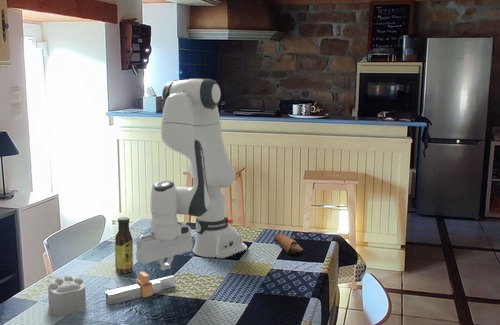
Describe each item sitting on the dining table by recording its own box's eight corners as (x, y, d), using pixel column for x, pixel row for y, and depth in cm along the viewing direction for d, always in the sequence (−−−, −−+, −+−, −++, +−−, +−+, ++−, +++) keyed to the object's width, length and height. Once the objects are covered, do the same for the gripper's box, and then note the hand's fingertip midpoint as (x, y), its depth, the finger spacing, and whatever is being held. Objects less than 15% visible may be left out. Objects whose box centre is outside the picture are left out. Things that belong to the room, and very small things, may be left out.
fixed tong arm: (172, 285, 186) (172, 275, 186) (174, 286, 185) (174, 276, 185) (105, 302, 172) (105, 291, 172) (107, 303, 171) (107, 292, 171)
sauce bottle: (128, 275, 194) (127, 222, 190) (112, 273, 195) (111, 220, 191) (136, 268, 200) (135, 216, 196) (120, 266, 201) (119, 215, 197)
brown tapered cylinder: (307, 253, 219) (300, 240, 217) (293, 263, 218) (286, 250, 216) (291, 239, 236) (284, 226, 234) (277, 247, 235) (271, 235, 233)
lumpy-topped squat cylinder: (53, 318, 162) (52, 291, 160) (45, 300, 172) (44, 275, 171) (88, 310, 167) (87, 284, 165) (78, 294, 178) (77, 269, 176)
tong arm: (159, 290, 182) (159, 280, 181) (160, 291, 181) (160, 281, 180) (107, 303, 171) (107, 293, 170) (109, 305, 170) (108, 294, 169)
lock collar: (144, 289, 182) (144, 270, 180) (152, 295, 177) (151, 275, 176) (136, 291, 180) (136, 272, 178) (143, 297, 176) (143, 277, 174)
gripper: (141, 239, 171) (142, 280, 174) (195, 226, 184) (195, 264, 187) (131, 234, 176) (133, 274, 178) (184, 221, 188) (185, 259, 191)
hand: (165, 269), depth 183 cm, fingers closed
